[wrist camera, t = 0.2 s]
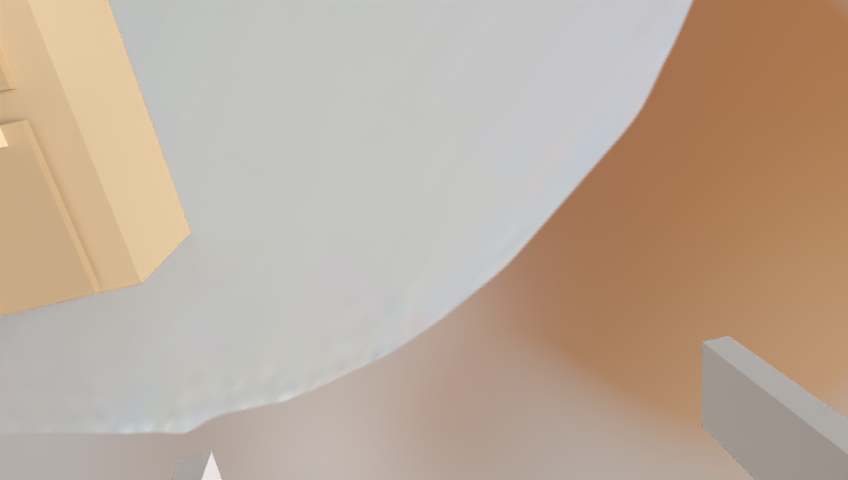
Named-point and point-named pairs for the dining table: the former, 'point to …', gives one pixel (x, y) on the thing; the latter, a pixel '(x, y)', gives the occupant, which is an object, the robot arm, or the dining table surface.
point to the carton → (91, 133)
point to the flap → (35, 230)
